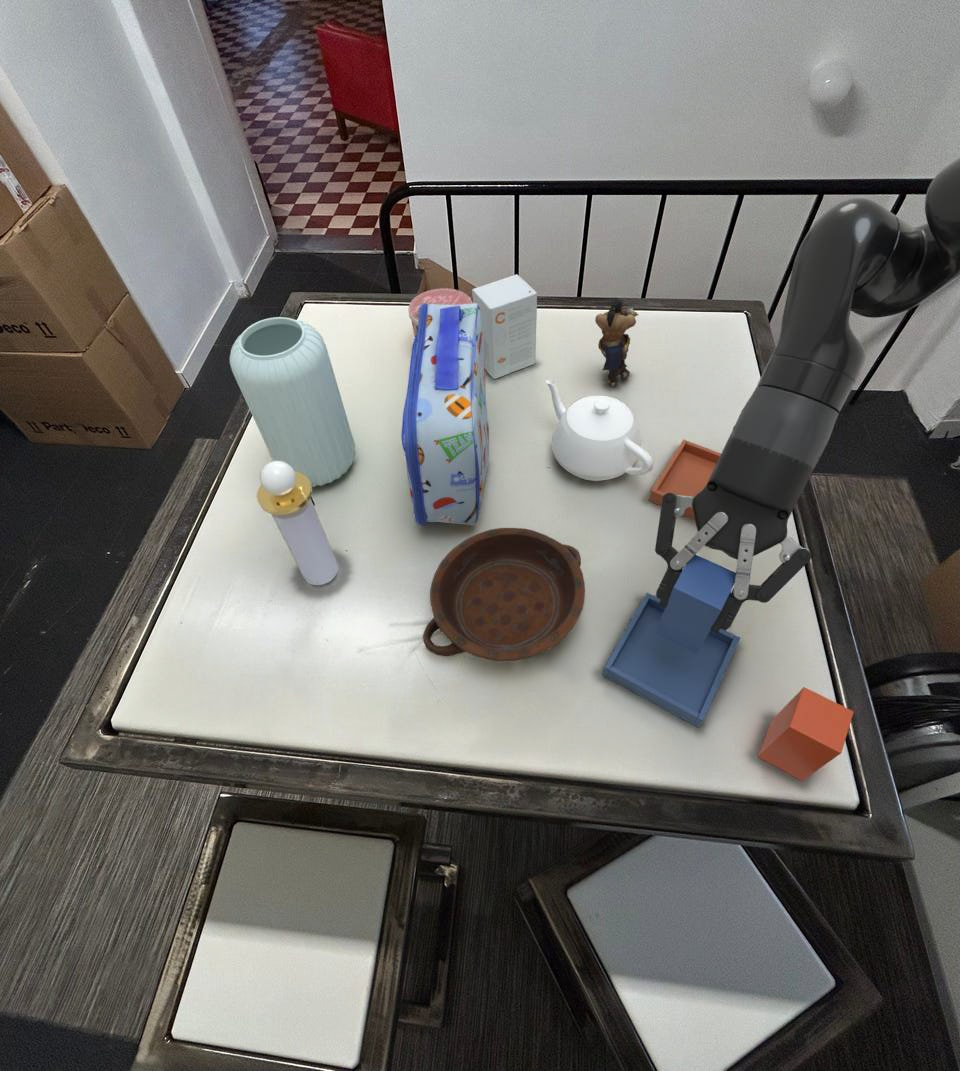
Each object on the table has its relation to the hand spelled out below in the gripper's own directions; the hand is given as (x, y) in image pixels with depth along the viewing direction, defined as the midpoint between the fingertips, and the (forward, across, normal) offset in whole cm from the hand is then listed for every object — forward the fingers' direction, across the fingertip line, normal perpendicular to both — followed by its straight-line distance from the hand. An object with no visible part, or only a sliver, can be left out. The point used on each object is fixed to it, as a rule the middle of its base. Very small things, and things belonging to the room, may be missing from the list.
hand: (688, 616), depth 58 cm
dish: (+11, -19, +8) cm, 23 cm away
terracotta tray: (-10, -6, +29) cm, 31 cm away
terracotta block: (+10, +14, +8) cm, 19 cm away
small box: (-17, -44, +36) cm, 59 cm away
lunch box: (0, -38, +19) cm, 42 cm away
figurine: (-20, -27, +39) cm, 51 cm away
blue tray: (+8, 0, +10) cm, 13 cm away
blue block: (+2, 0, +5) cm, 5 cm away
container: (-16, -55, +35) cm, 67 cm away
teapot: (-9, -22, +28) cm, 36 cm away
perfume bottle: (+17, -42, +2) cm, 45 cm away
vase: (+7, -55, +12) cm, 57 cm away
